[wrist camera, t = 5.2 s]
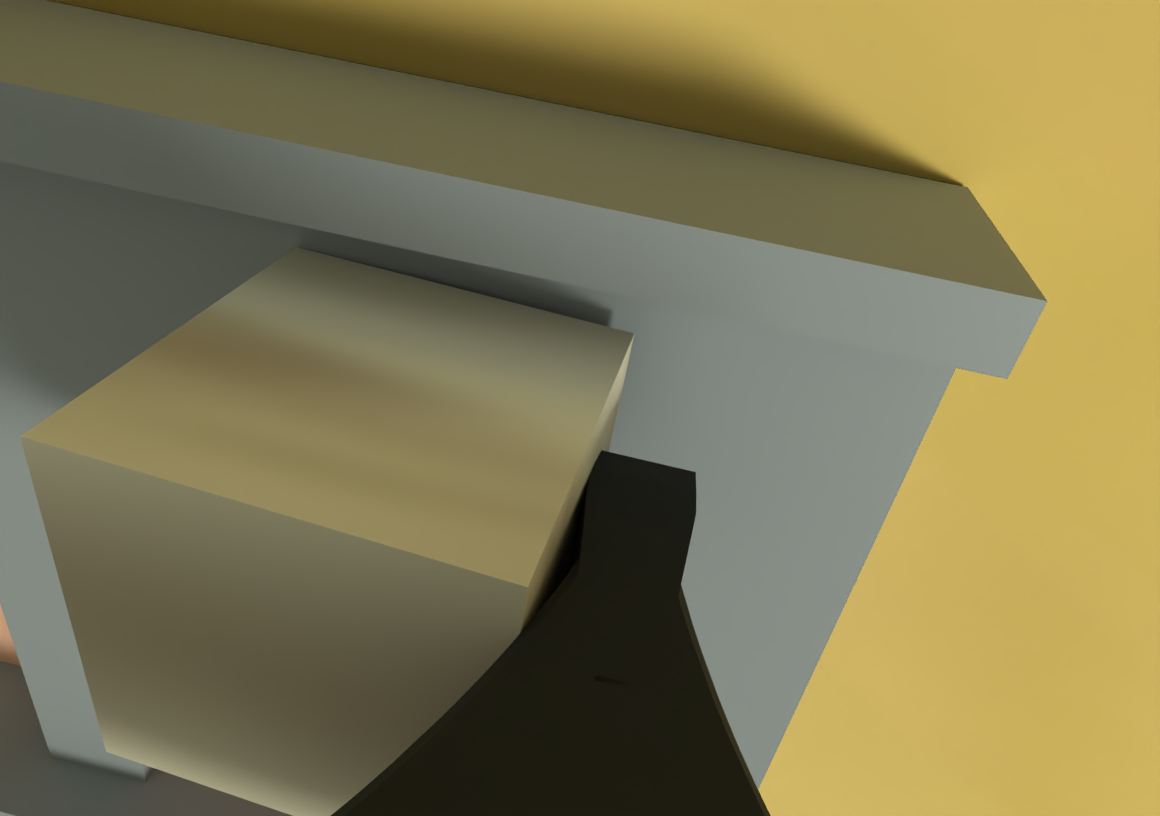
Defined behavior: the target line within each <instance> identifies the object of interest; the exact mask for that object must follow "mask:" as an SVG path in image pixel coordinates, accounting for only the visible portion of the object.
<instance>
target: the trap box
mask: <svg viewBox="0 0 1160 816" xmlns="http://www.w3.org/2000/svg"><path fill="white" fill-rule="evenodd" d="M296 247H298V248H302V249H306V250H310V251H314V252H318V253H322V254H326V255H329V256H333V257H337V258H341V259H345V260H349V261H353V262H357V263H361V264H365V265H369V266H372V267H376V268H380V269H384V270H388V271H392V272H396V273H400V274H404V275H408V276H412V277H415V278H419V279H423V280H427V281H431V282H435V283H439V284H443V285H447V286H451V287H455V288H458V289H462V290H466V291H470V292H474V293H478V294H482V295H486V296H490V297H494V298H498V299H501V300H505V301H509V302H513V303H517V304H521V305H525V306H529V307H533V308H537V309H540V310H544V311H548V312H552V313H556V314H560V315H564V316H568V317H572V318H576V319H580V320H583V321H587V322H591V323H595V324H599V325H603V326H607V327H611V328H615V329H619V330H623V331H626V332H630V333H634V338H633V343H632V347H631V352H630V357H629V361H628V366H627V370H626V375H625V380H624V384H623V389H622V393H621V398H620V403H619V407H618V412H617V416H616V421H615V426H614V430H613V435H612V439H611V444H610V449H609V452H611V453H616V454H620V455H624V456H629V457H633V458H637V459H642V460H646V461H650V462H655V463H659V464H663V465H667V466H672V467H676V468H680V469H685V470H689V471H693V472H696V517H695V522H694V526H693V531H692V536H691V540H690V545H689V550H688V555H687V559H686V564H685V568H684V573H683V578H682V582H681V586H682V589H683V593H684V596H685V599H686V603H687V606H688V610H689V613H690V617H691V620H692V623H693V627H694V630H695V633H696V636H697V639H698V642H699V645H700V648H701V651H702V654H703V656H704V659H705V662H706V665H707V667H708V670H709V673H710V676H711V678H712V681H713V684H714V686H715V689H716V692H717V695H718V697H719V700H720V702H721V705H722V707H723V710H724V712H725V715H726V718H727V720H728V723H729V725H730V727H731V730H732V732H733V735H734V737H735V739H736V742H737V744H738V746H739V749H740V751H741V753H742V755H743V758H744V760H745V762H746V764H747V767H748V769H749V771H750V773H751V775H752V778H753V780H754V782H755V784H756V786H757V789H759V787H760V784H761V782H762V780H763V778H764V776H765V774H766V772H767V770H768V767H769V765H770V763H771V761H772V759H773V757H774V755H775V752H776V750H777V748H778V746H779V744H780V742H781V740H782V738H783V735H784V733H785V731H786V729H787V727H788V725H789V723H790V721H791V718H792V716H793V714H794V712H795V710H796V708H797V706H798V703H799V701H800V699H801V697H802V695H803V693H804V691H805V689H806V686H807V684H808V682H809V680H810V678H811V676H812V674H813V672H814V669H815V667H816V665H817V663H818V661H819V659H820V657H821V654H822V652H823V650H824V648H825V646H826V644H827V642H828V640H829V637H830V635H831V633H832V631H833V629H834V627H835V625H836V623H837V620H838V618H839V616H840V614H841V612H842V610H843V608H844V605H845V603H846V601H847V599H848V597H849V595H850V593H851V591H852V588H853V586H854V584H855V582H856V580H857V578H858V576H859V574H860V571H861V569H862V567H863V565H864V563H865V561H866V559H867V556H868V554H869V552H870V550H871V548H872V546H873V544H874V542H875V539H876V537H877V535H878V533H879V531H880V529H881V527H882V525H883V522H884V520H885V518H886V516H887V514H888V512H889V510H890V507H891V505H892V503H893V501H894V499H895V497H896V495H897V493H898V490H899V488H900V486H901V484H902V482H903V480H904V478H905V476H906V473H907V471H908V469H909V467H910V465H911V463H912V461H913V459H914V456H915V454H916V452H917V450H918V448H919V446H920V444H921V441H922V439H923V437H924V435H925V433H926V431H927V429H928V427H929V424H930V422H931V420H932V418H933V416H934V414H935V412H936V410H937V407H938V405H939V403H940V401H941V399H942V397H943V395H944V392H945V390H946V388H947V386H948V384H949V382H950V380H951V378H952V375H953V373H954V371H955V369H956V368H959V369H963V370H968V371H973V372H977V373H982V374H986V375H991V376H996V377H1000V378H1005V379H1008V377H1009V375H1010V373H1011V371H1012V369H1013V367H1014V365H1015V363H1016V361H1017V359H1018V357H1019V355H1020V353H1021V352H1022V350H1023V348H1024V346H1025V344H1026V342H1027V340H1028V338H1029V336H1030V334H1031V332H1032V330H1033V328H1034V326H1035V324H1036V322H1037V320H1038V318H1039V316H1040V315H1041V313H1042V311H1043V309H1044V307H1045V305H1046V303H1047V300H1046V299H1045V297H1044V296H1043V294H1042V293H1041V291H1040V290H1039V289H1038V287H1037V286H1036V284H1035V283H1034V281H1033V280H1032V279H1031V277H1030V276H1029V274H1028V273H1027V271H1026V270H1025V269H1024V267H1023V266H1022V264H1021V263H1020V261H1019V260H1018V259H1017V257H1016V256H1015V254H1014V253H1013V251H1012V250H1011V249H1010V247H1009V246H1008V244H1007V243H1006V241H1005V240H1004V239H1003V237H1002V236H1001V234H1000V233H999V231H998V230H997V229H996V227H995V226H994V224H993V223H992V221H991V220H990V219H989V217H988V216H987V214H986V213H985V211H984V210H983V209H982V207H981V206H980V204H979V203H978V201H977V200H976V199H975V197H974V196H973V194H972V193H971V191H970V190H969V189H968V187H963V186H958V185H954V184H949V183H944V182H939V181H934V180H929V179H924V178H919V177H914V176H909V175H904V174H899V173H894V172H889V171H885V170H880V169H875V168H870V167H865V166H860V165H855V164H850V163H845V162H840V161H835V160H830V159H825V158H821V157H816V156H811V155H806V154H801V153H796V152H791V151H786V150H781V149H776V148H771V147H766V146H761V145H756V144H752V143H747V142H742V141H737V140H732V139H727V138H722V137H717V136H712V135H707V134H702V133H697V132H692V131H687V130H683V129H678V128H673V127H668V126H663V125H658V124H653V123H648V122H643V121H638V120H633V119H628V118H623V117H619V116H614V115H609V114H604V113H599V112H594V111H589V110H584V109H579V108H574V107H569V106H564V105H559V104H554V103H550V102H545V101H540V100H535V99H530V98H525V97H520V96H515V95H510V94H505V93H500V92H495V91H490V90H486V89H481V88H476V87H471V86H466V85H461V84H456V83H451V82H446V81H441V80H436V79H431V78H426V77H421V76H417V75H412V74H407V73H402V72H397V71H392V70H387V69H382V68H377V67H372V66H367V65H362V64H357V63H353V62H348V61H343V60H338V59H333V58H328V57H323V56H318V55H313V54H308V53H303V52H298V51H293V50H288V49H284V48H279V47H274V46H269V45H264V44H259V43H254V42H249V41H244V40H239V39H234V38H229V37H224V36H220V35H215V34H210V33H205V32H200V31H195V30H190V29H185V28H180V27H175V26H170V25H165V24H160V23H155V22H151V21H146V20H141V19H136V18H131V17H126V16H121V15H116V14H111V13H106V12H101V11H96V10H91V9H87V8H82V7H77V6H72V5H67V4H62V3H57V2H52V1H47V0H0V816H292V815H289V814H286V813H284V812H281V811H278V810H275V809H272V808H269V807H266V806H263V805H260V804H257V803H254V802H251V801H249V800H246V799H243V798H240V797H237V796H234V795H231V794H228V793H225V792H222V791H219V790H216V789H213V788H211V787H208V786H205V785H202V784H199V783H196V782H193V781H190V780H187V779H184V778H181V777H178V776H176V775H173V774H170V773H167V772H164V771H161V770H158V769H155V768H152V767H149V766H146V765H143V764H141V763H138V762H135V761H132V760H129V759H126V758H123V757H120V756H117V755H114V754H111V753H108V752H106V749H105V746H104V742H103V738H102V735H101V731H100V727H99V724H98V720H97V716H96V713H95V709H94V705H93V702H92V698H91V694H90V691H89V687H88V683H87V680H86V676H85V672H84V669H83V665H82V661H81V658H80V654H79V651H78V647H77V643H76V640H75V636H74V632H73V629H72V625H71V621H70V618H69V614H68V610H67V607H66V603H65V599H64V596H63V592H62V588H61V585H60V581H59V577H58V574H57V570H56V566H55V563H54V559H53V555H52V552H51V548H50V544H49V541H48V537H47V533H46V530H45V526H44V522H43V519H42V515H41V511H40V508H39V504H38V500H37V497H36V493H35V489H34V486H33V482H32V478H31V475H30V471H29V467H28V464H27V460H26V456H25V453H24V449H23V445H22V442H21V438H20V436H21V435H23V434H24V433H26V432H27V431H29V430H30V429H32V428H33V427H35V426H36V425H38V424H39V423H40V422H42V421H43V420H45V419H46V418H48V417H49V416H51V415H52V414H54V413H55V412H56V411H58V410H59V409H61V408H62V407H64V406H65V405H67V404H68V403H70V402H71V401H73V400H74V399H75V398H77V397H78V396H80V395H81V394H83V393H84V392H86V391H87V390H89V389H90V388H91V387H93V386H94V385H96V384H97V383H99V382H100V381H102V380H103V379H105V378H106V377H108V376H109V375H110V374H112V373H113V372H115V371H116V370H118V369H119V368H121V367H122V366H124V365H125V364H126V363H128V362H129V361H131V360H132V359H134V358H135V357H137V356H138V355H140V354H141V353H143V352H144V351H145V350H147V349H148V348H150V347H151V346H153V345H154V344H156V343H157V342H159V341H160V340H161V339H163V338H164V337H166V336H167V335H169V334H170V333H172V332H173V331H175V330H176V329H178V328H179V327H180V326H182V325H183V324H185V323H186V322H188V321H189V320H191V319H192V318H194V317H195V316H196V315H198V314H199V313H201V312H202V311H204V310H205V309H207V308H208V307H210V306H211V305H213V304H214V303H215V302H217V301H218V300H220V299H221V298H223V297H224V296H226V295H227V294H229V293H230V292H232V291H233V290H234V289H236V288H237V287H239V286H240V285H242V284H243V283H245V282H246V281H248V280H249V279H250V278H252V277H253V276H255V275H256V274H258V273H259V272H261V271H262V270H264V269H265V268H267V267H268V266H269V265H271V264H272V263H274V262H275V261H277V260H278V259H280V258H281V257H283V256H284V255H285V254H287V253H288V252H290V251H291V250H293V249H294V248H296Z"/></svg>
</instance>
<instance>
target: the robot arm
mask: <svg viewBox="0 0 1160 816" xmlns="http://www.w3.org/2000/svg"><path fill="white" fill-rule="evenodd" d="M695 517H696V472H693V471H689V470H685V469H680V468H676V467H672V466H667V465H663V464H659V463H655V462H650V461H646V460H642V459H637V458H633V457H629V456H624V455H620V454H616V453H611V452H607V451H603V450H601V452H600V454H599V456H598V458H597V460H596V462H595V464H594V467H593V470H592V474H591V477H590V481H589V484H588V487H587V492H586V497H585V502H584V506H583V511H582V516H581V521H580V526H579V530H578V535H577V540H576V545H575V549H574V554H573V559H572V564H571V569H570V571H569V573H568V574H567V576H566V577H565V578H564V580H563V581H562V582H561V584H560V585H559V586H558V588H557V589H556V590H555V591H554V593H553V594H552V595H551V596H550V597H549V599H548V600H547V601H546V602H545V604H544V605H543V606H542V607H541V608H540V610H539V611H538V612H537V613H536V614H535V616H534V617H533V618H532V619H531V621H530V622H529V623H528V624H527V625H526V627H525V628H524V629H523V630H522V632H521V633H520V634H519V635H518V636H517V638H516V639H515V640H514V641H513V642H512V643H511V644H510V646H509V647H508V648H507V649H506V650H505V651H504V652H503V653H502V654H501V656H500V657H499V658H498V659H497V660H496V661H495V662H494V663H493V664H492V665H491V667H490V668H489V669H488V670H487V671H486V672H485V673H484V674H483V675H482V676H481V677H480V678H479V679H478V680H477V681H476V682H475V683H474V684H473V685H472V687H471V688H470V689H469V690H468V691H467V692H466V693H465V694H464V695H463V696H462V697H461V698H460V699H459V700H458V701H457V702H456V703H455V704H454V705H453V706H452V707H451V708H450V709H449V710H448V711H447V712H446V713H445V714H444V715H443V716H442V717H441V718H440V719H439V720H438V721H436V722H435V723H434V724H433V725H432V726H431V727H430V728H429V729H428V730H427V731H426V732H425V733H424V734H423V735H421V736H420V737H419V738H418V739H417V740H416V741H415V742H414V743H413V744H412V745H411V746H410V747H409V748H408V749H407V750H405V751H404V752H403V753H402V754H401V755H400V756H399V757H398V758H397V759H396V760H395V761H394V762H393V763H392V764H390V765H389V766H388V767H387V768H386V769H385V770H384V771H383V772H381V773H380V774H379V775H378V776H377V777H376V778H375V779H374V780H372V781H371V782H370V783H369V784H368V785H367V786H366V787H364V788H363V789H362V790H361V791H360V792H359V793H357V794H356V795H355V796H354V797H353V798H352V799H350V800H349V801H348V802H347V803H346V804H344V805H343V806H342V807H341V808H339V809H338V810H337V811H336V812H334V813H333V814H332V815H331V816H770V814H769V812H768V810H767V808H766V806H765V804H764V802H763V800H762V798H761V795H760V793H759V791H758V789H757V786H756V784H755V782H754V780H753V778H752V775H751V773H750V771H749V769H748V767H747V764H746V762H745V760H744V758H743V755H742V753H741V751H740V749H739V746H738V744H737V742H736V739H735V737H734V735H733V732H732V730H731V727H730V725H729V723H728V720H727V718H726V715H725V712H724V710H723V707H722V705H721V702H720V700H719V697H718V695H717V692H716V689H715V686H714V684H713V681H712V678H711V676H710V673H709V670H708V667H707V665H706V662H705V659H704V656H703V654H702V651H701V648H700V645H699V642H698V639H697V636H696V633H695V630H694V627H693V623H692V620H691V617H690V613H689V610H688V606H687V603H686V599H685V596H684V593H683V589H682V586H681V582H682V578H683V573H684V568H685V564H686V559H687V555H688V550H689V545H690V540H691V536H692V531H693V526H694V522H695Z"/></svg>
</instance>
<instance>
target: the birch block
mask: <svg viewBox="0 0 1160 816" xmlns="http://www.w3.org/2000/svg"><path fill="white" fill-rule="evenodd" d="M633 338H634V333H630V332H626V331H623V330H619V329H615V328H611V327H607V326H603V325H599V324H595V323H591V322H587V321H583V320H580V319H576V318H572V317H568V316H564V315H560V314H556V313H552V312H548V311H544V310H540V309H537V308H533V307H529V306H525V305H521V304H517V303H513V302H509V301H505V300H501V299H498V298H494V297H490V296H486V295H482V294H478V293H474V292H470V291H466V290H462V289H458V288H455V287H451V286H447V285H443V284H439V283H435V282H431V281H427V280H423V279H419V278H415V277H412V276H408V275H404V274H400V273H396V272H392V271H388V270H384V269H380V268H376V267H372V266H369V265H365V264H361V263H357V262H353V261H349V260H345V259H341V258H337V257H333V256H329V255H326V254H322V253H318V252H314V251H310V250H306V249H302V248H298V247H296V248H294V249H293V250H291V251H290V252H288V253H287V254H285V255H284V256H283V257H281V258H280V259H278V260H277V261H275V262H274V263H272V264H271V265H269V266H268V267H267V268H265V269H264V270H262V271H261V272H259V273H258V274H256V275H255V276H253V277H252V278H250V279H249V280H248V281H246V282H245V283H243V284H242V285H240V286H239V287H237V288H236V289H234V290H233V291H232V292H230V293H229V294H227V295H226V296H224V297H223V298H221V299H220V300H218V301H217V302H215V303H214V304H213V305H211V306H210V307H208V308H207V309H205V310H204V311H202V312H201V313H199V314H198V315H196V316H195V317H194V318H192V319H191V320H189V321H188V322H186V323H185V324H183V325H182V326H180V327H179V328H178V329H176V330H175V331H173V332H172V333H170V334H169V335H167V336H166V337H164V338H163V339H161V340H160V341H159V342H157V343H156V344H154V345H153V346H151V347H150V348H148V349H147V350H145V351H144V352H143V353H141V354H140V355H138V356H137V357H135V358H134V359H132V360H131V361H129V362H128V363H126V364H125V365H124V366H122V367H121V368H119V369H118V370H116V371H115V372H113V373H112V374H110V375H109V376H108V377H106V378H105V379H103V380H102V381H100V382H99V383H97V384H96V385H94V386H93V387H91V388H90V389H89V390H87V391H86V392H84V393H83V394H81V395H80V396H78V397H77V398H75V399H74V400H73V401H71V402H70V403H68V404H67V405H65V406H64V407H62V408H61V409H59V410H58V411H56V412H55V413H54V414H52V415H51V416H49V417H48V418H46V419H45V420H43V421H42V422H40V423H39V424H38V425H36V426H35V427H33V428H32V429H30V430H29V431H27V432H26V433H24V434H23V435H21V436H20V438H21V442H22V445H23V449H24V453H25V456H26V460H27V464H28V467H29V471H30V475H31V478H32V482H33V486H34V489H35V493H36V497H37V500H38V504H39V508H40V511H41V515H42V519H43V522H44V526H45V530H46V533H47V537H48V541H49V544H50V548H51V552H52V555H53V559H54V563H55V566H56V570H57V574H58V577H59V581H60V585H61V588H62V592H63V596H64V599H65V603H66V607H67V610H68V614H69V618H70V621H71V625H72V629H73V632H74V636H75V640H76V643H77V647H78V651H79V654H80V658H81V661H82V665H83V669H84V672H85V676H86V680H87V683H88V687H89V691H90V694H91V698H92V702H93V705H94V709H95V713H96V716H97V720H98V724H99V727H100V731H101V735H102V738H103V742H104V746H105V749H106V752H108V753H111V754H114V755H117V756H120V757H123V758H126V759H129V760H132V761H135V762H138V763H141V764H143V765H146V766H149V767H152V768H155V769H158V770H161V771H164V772H167V773H170V774H173V775H176V776H178V777H181V778H184V779H187V780H190V781H193V782H196V783H199V784H202V785H205V786H208V787H211V788H213V789H216V790H219V791H222V792H225V793H228V794H231V795H234V796H237V797H240V798H243V799H246V800H249V801H251V802H254V803H257V804H260V805H263V806H266V807H269V808H272V809H275V810H278V811H281V812H284V813H286V814H289V815H292V816H331V815H332V814H333V813H334V812H336V811H337V810H338V809H339V808H341V807H342V806H343V805H344V804H346V803H347V802H348V801H349V800H350V799H352V798H353V797H354V796H355V795H356V794H357V793H359V792H360V791H361V790H362V789H363V788H364V787H366V786H367V785H368V784H369V783H370V782H371V781H372V780H374V779H375V778H376V777H377V776H378V775H379V774H380V773H381V772H383V771H384V770H385V769H386V768H387V767H388V766H389V765H390V764H392V763H393V762H394V761H395V760H396V759H397V758H398V757H399V756H400V755H401V754H402V753H403V752H404V751H405V750H407V749H408V748H409V747H410V746H411V745H412V744H413V743H414V742H415V741H416V740H417V739H418V738H419V737H420V736H421V735H423V734H424V733H425V732H426V731H427V730H428V729H429V728H430V727H431V726H432V725H433V724H434V723H435V722H436V721H438V720H439V719H440V718H441V717H442V716H443V715H444V714H445V713H446V712H447V711H448V710H449V709H450V708H451V707H452V706H453V705H454V704H455V703H456V702H457V701H458V700H459V699H460V698H461V697H462V696H463V695H464V694H465V693H466V692H467V691H468V690H469V689H470V688H471V687H472V685H473V684H474V683H475V682H476V681H477V680H478V679H479V678H480V677H481V676H482V675H483V674H484V673H485V672H486V671H487V670H488V669H489V668H490V667H491V665H492V664H493V663H494V662H495V661H496V660H497V659H498V658H499V657H500V656H501V654H502V653H503V652H504V651H505V650H506V649H507V648H508V647H509V646H510V644H511V643H512V642H513V641H514V640H515V639H516V638H517V636H518V635H519V634H520V633H521V632H522V630H523V629H524V628H525V627H526V625H527V624H528V623H529V622H530V621H531V619H532V618H533V617H534V616H535V614H536V613H537V612H538V611H539V610H540V608H541V607H542V606H543V605H544V604H545V602H546V601H547V600H548V599H549V597H550V596H551V595H552V594H553V593H554V591H555V590H556V589H557V588H558V586H559V585H560V584H561V582H562V581H563V580H564V578H565V577H566V576H567V574H568V573H569V571H570V569H571V564H572V559H573V554H574V549H575V545H576V540H577V535H578V530H579V526H580V521H581V516H582V511H583V506H584V502H585V497H586V492H587V487H588V484H589V481H590V477H591V474H592V470H593V467H594V464H595V462H596V460H597V458H598V456H599V454H600V452H601V450H603V451H607V452H609V449H610V444H611V439H612V435H613V430H614V426H615V421H616V416H617V412H618V407H619V403H620V398H621V393H622V389H623V384H624V380H625V375H626V370H627V366H628V361H629V357H630V352H631V347H632V343H633Z"/></svg>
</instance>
